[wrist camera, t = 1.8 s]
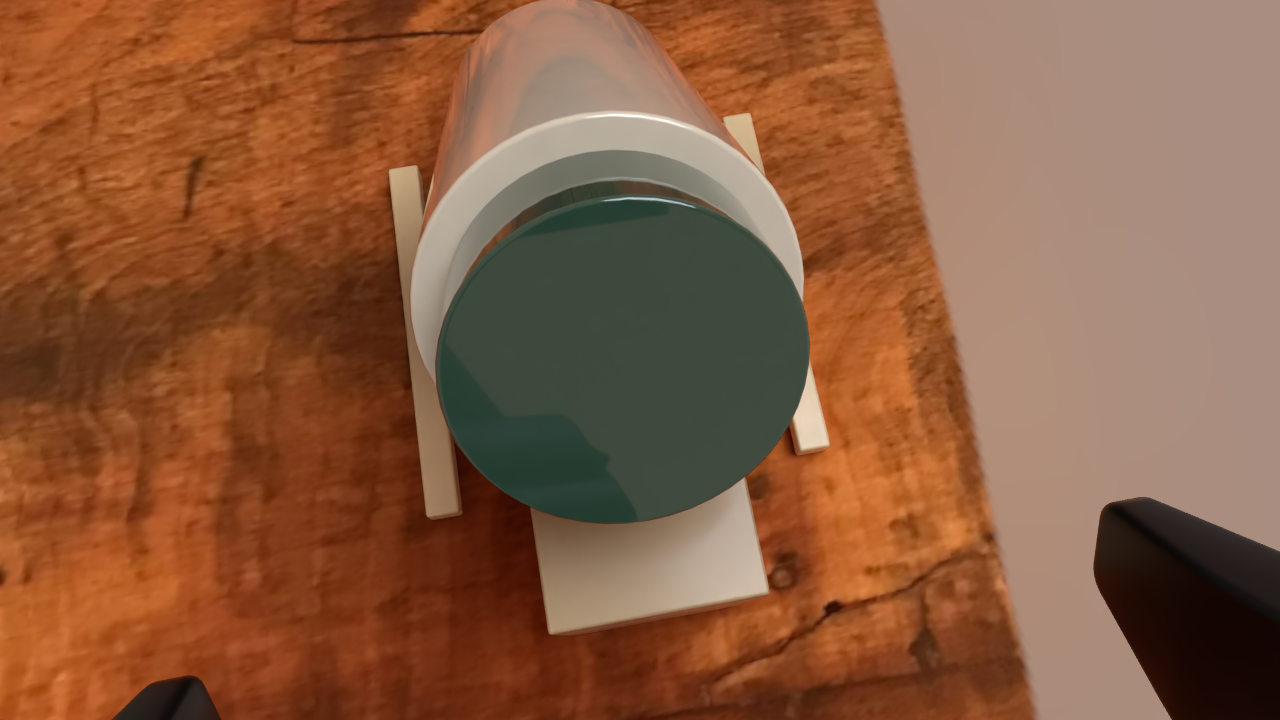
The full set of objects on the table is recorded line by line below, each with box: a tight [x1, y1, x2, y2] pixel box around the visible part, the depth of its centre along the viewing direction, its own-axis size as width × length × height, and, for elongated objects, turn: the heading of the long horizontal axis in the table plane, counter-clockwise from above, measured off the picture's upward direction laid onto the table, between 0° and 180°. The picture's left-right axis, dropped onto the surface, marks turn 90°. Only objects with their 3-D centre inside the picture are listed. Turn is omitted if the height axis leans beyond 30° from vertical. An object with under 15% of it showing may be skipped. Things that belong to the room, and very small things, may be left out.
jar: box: [409, 0, 810, 524], centre depth 18 cm, size 13×6×13 cm, turn 10°
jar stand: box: [389, 113, 830, 636], centre depth 21 cm, size 13×10×6 cm
